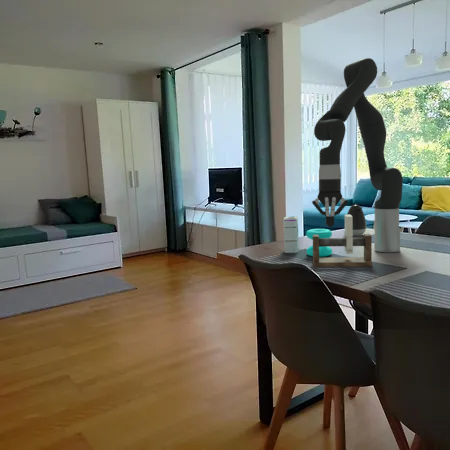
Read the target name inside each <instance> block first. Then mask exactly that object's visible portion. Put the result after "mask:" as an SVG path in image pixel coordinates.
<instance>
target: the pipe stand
mask: <svg viewBox="0 0 450 450" xmlns="http://www.w3.org/2000/svg"><path fill="white" fill-rule="evenodd" d="M372 239H373V237H372V234H370V233H364V234H363V237H353V247H363V256H362V257H359V256H358V257H356V256H355V257H354V256H353V257H349V256H347V257H345V256H344V257H319V247H325V246H328V247H345V246H346V238H345V237H330V238H319V235H313V240H312V246H313V256H312V265H313V267H314V268H317V267H318V268H319V267H321V268H322V267H323V268H324V267H325V268H326V267H327V268H328V267H331V268H333V267H335V268H337V267H338V268H339V267H340V268H341V267H345V268H346V267H351V268H352V267H356V268H357V267H360V268H361V267H363V268H364V267H373V263H374V262H373V261H372V259H373V258H372V255H373V254H372V246H373V245H372V243H373V242H372Z"/></svg>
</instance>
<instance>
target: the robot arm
mask: <svg viewBox="0 0 450 450" xmlns="http://www.w3.org/2000/svg"><path fill="white" fill-rule="evenodd" d="M377 76H378V66H377V63H376V61H375V60H374V59H372V58H370V57H365V58H362V59H358V60H356V61H354V62H351V63H349V64H347V65H346V66H345V67H344V69H343V78H344V82H345V86H346V88H344V90H343V91H341V93H340V94H338V96H337V97H336V98H335V99H334V100H333V101H334V102H333V103H332V105H331V106H330V108H329V110H328V111H326V112H325V113H324V114H323V115H322V116H321V117H320V118H319V119H318V120H317V122H316V123H315V125H314V130H313V134H314V136H315V138H316V140H318V141H320V142H321V141H322V142H324V141H325V142H327V141H330V143H329V145H328V146H326V147H323V148H321V149H320V150H319V157H318V158H319V167H318V168H319V169H318V194H317V197H316V198H315V199H314V200H311V203H312V205H313V206H314V208H315V209H316V210H317V211H318V212H319V213H320V215H321V216H325V225H326V226H327V227H328V228H333V226H334V225H335V216H337V215H340V213H341V212H342V211H344V209H345V207H346V206H347V205H348V204H349V201H348V199H345V198H344V197H343V194H342V191H341V190H342V170H341V169H342V168H341V151H342V147H343V142H344V139H345V136H346V129H347V128H346V124H345V122H346V121H347V119H348V118H349V117H350V114H351V113H352V111H353V109H354V112H355V114H356V115H355V116H356V120H357V124H358V129H359V133H360V136H361V140H362V142H363V146H364V151H365V154H366V155H365V156H366V158H367V163H368V164H367V165H368V170H369V178H370V183H371V184H372V187H373V188H374V189H375V190H377V191H380V197H379V198H378V199H377V200H375V201H374V251H375V252H379V253H397V252H401V227H400V204H401V202H402V198H403V184H404V183H403V182H404V181H403V175H402V173H401V171H400V170H399V169H398V168H396V167H388V166H387V163H386V158H385V146H386V142H387V141H386V140H387V128H386V125H385V120H384V116H383V115H382V113H381V112H380V111H379V110H378V109H377V108H376V107H375V106H374V105H373V104H372V103H371V102H370V101H369V100H368V99H367V97H366V95H365V92H366V91H367V90H368V88H369V87H370V86H371V85H372V84H373V82H374V81H375V80H376V78H377ZM320 203H321V204H322V206H324V210H323V209H322V207H321V206H320ZM339 203H340V205H339V206H338V204H339ZM336 206H338V208H337V209H336Z"/></svg>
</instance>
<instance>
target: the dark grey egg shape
mask: <svg viewBox="0 0 450 450" xmlns="http://www.w3.org/2000/svg"><path fill="white" fill-rule="evenodd" d="M346 215H351V216H352V223H353V237H360V236H362V235H364V234H365V233H366V229H367V220H366V217H365V213H364V211H363V207H362V206H360V205H359V204H353V205H350V207H349V209H348V211H347V213H346Z"/></svg>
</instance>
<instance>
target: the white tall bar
mask: <svg viewBox="0 0 450 450" xmlns="http://www.w3.org/2000/svg"><path fill="white" fill-rule="evenodd" d="M344 238H346V246H344V251H345V253H346V254H351V255H353V254H354V251H353V250H354V248H353V247H354V246H353V238H354V236H353V223H352V216H351V215H347V214H344Z"/></svg>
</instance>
